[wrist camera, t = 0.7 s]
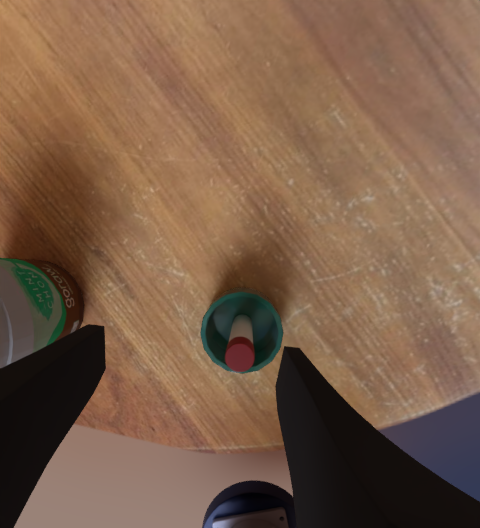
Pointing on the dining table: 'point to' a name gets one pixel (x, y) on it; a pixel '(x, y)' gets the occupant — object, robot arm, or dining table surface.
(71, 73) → the dining table surface
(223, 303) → the thermos cup
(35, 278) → the cake slice
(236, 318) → the marker
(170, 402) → the dining table surface
